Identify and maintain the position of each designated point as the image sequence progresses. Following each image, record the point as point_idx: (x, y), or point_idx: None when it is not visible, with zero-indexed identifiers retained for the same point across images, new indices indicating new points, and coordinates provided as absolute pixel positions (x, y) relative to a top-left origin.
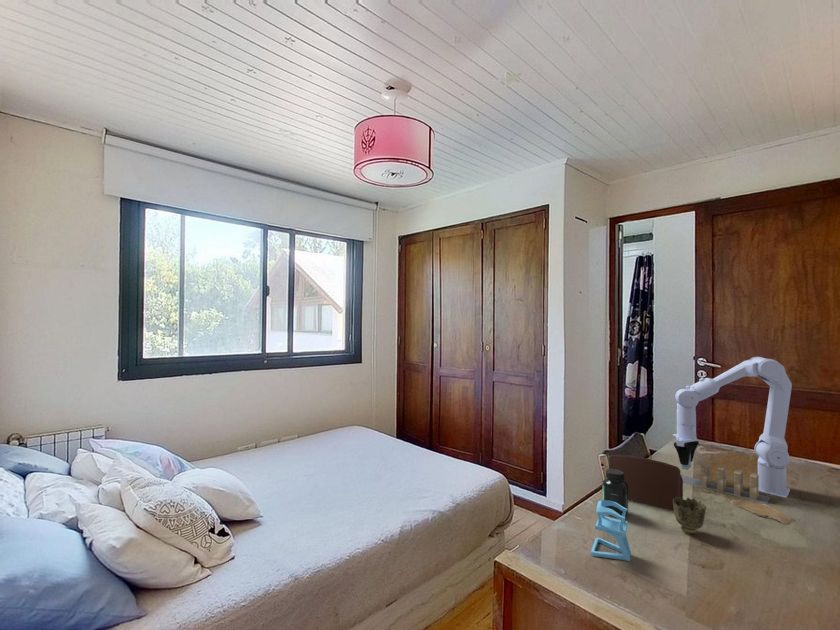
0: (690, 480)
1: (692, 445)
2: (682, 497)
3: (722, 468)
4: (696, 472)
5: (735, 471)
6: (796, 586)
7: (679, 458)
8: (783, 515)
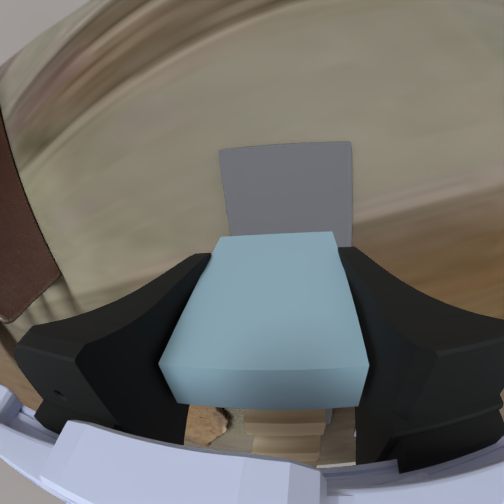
0: (297, 231)
1: (362, 433)
2: (52, 281)
3: (280, 432)
4: (472, 209)
5: (279, 454)
6: (33, 401)
7: (167, 274)
8: (199, 441)
